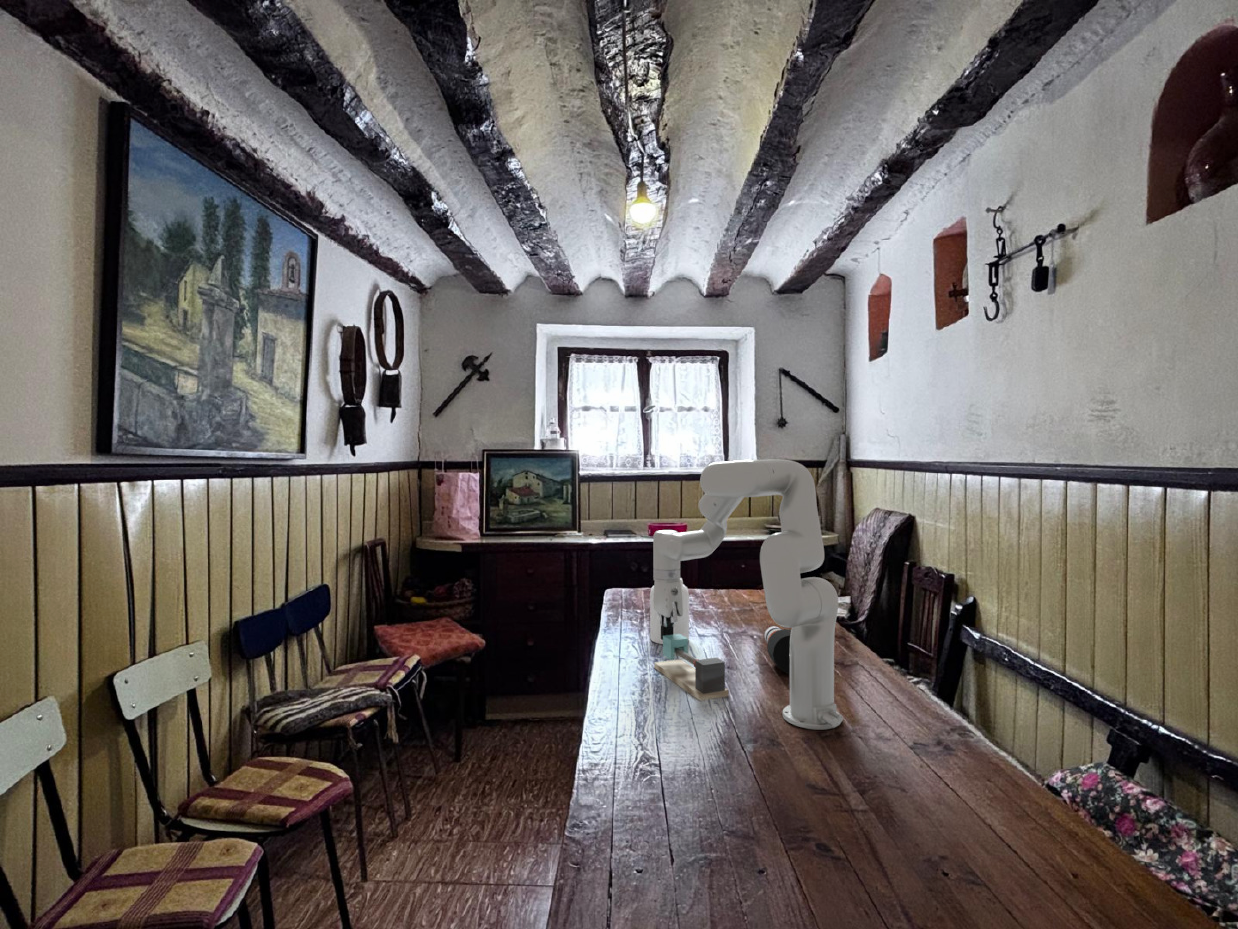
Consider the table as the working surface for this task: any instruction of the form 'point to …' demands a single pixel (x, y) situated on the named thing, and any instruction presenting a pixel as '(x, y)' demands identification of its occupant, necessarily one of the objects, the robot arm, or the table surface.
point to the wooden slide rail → (696, 675)
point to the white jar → (683, 621)
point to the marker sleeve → (674, 644)
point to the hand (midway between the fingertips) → (667, 639)
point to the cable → (779, 647)
